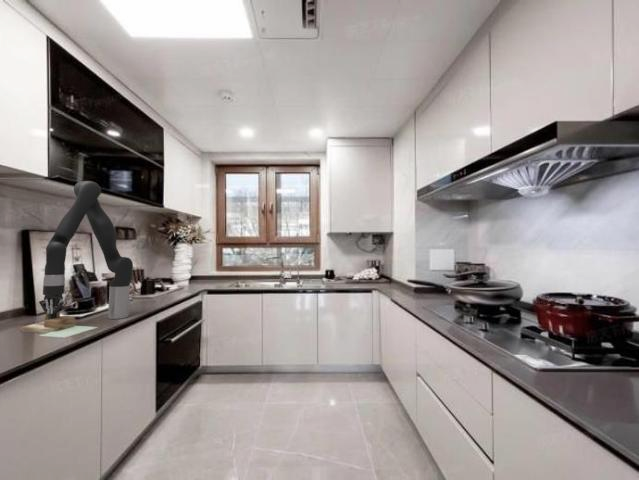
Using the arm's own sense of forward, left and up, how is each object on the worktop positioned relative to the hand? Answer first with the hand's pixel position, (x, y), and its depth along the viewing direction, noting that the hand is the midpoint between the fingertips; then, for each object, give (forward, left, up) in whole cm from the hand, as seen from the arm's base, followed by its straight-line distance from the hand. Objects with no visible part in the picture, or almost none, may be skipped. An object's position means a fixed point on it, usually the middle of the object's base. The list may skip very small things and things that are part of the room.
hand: (52, 321), depth 135 cm
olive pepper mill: (-13, -14, -4) cm, 19 cm away
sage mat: (+2, +12, -4) cm, 13 cm away
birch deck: (0, -1, -4) cm, 4 cm away
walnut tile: (0, +5, 0) cm, 5 cm away
